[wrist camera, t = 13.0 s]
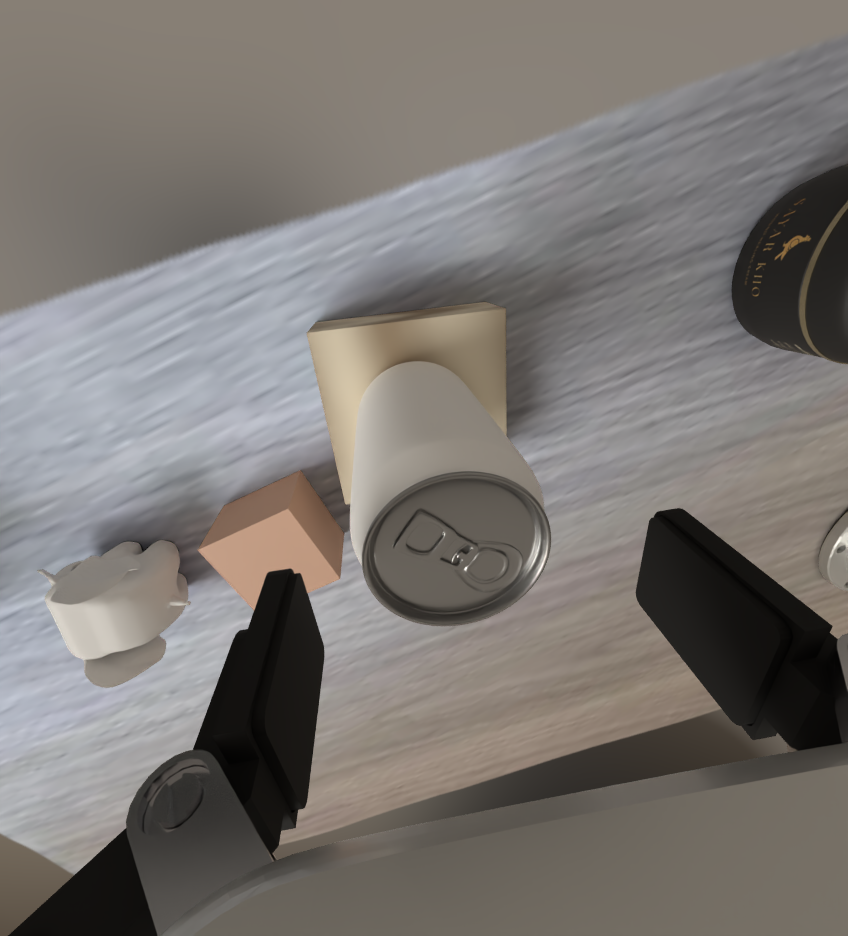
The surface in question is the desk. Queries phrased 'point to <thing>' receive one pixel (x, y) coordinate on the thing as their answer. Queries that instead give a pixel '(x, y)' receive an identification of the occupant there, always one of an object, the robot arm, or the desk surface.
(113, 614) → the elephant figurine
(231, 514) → the terracotta block
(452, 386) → the can
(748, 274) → the jar
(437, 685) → the desk surface
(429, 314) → the birch block
